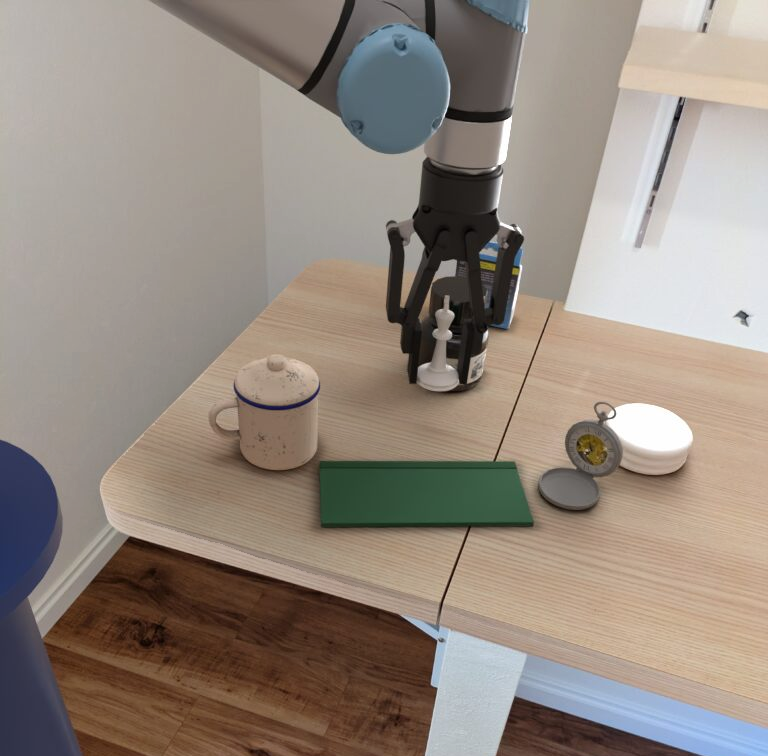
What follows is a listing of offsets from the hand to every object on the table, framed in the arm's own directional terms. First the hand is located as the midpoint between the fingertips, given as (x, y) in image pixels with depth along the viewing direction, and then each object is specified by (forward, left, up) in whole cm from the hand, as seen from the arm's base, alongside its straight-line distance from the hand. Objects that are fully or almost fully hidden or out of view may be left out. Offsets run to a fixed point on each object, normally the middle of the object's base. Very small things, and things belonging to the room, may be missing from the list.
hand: (436, 377), depth 89 cm
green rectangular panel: (-2, -11, -8) cm, 14 cm away
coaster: (+25, -3, -8) cm, 26 cm away
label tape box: (+11, +28, -8) cm, 31 cm away
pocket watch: (+15, -10, -8) cm, 20 cm away
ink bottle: (+4, +13, -8) cm, 16 cm away
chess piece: (0, 0, 0) cm, 0 cm away
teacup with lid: (-19, -3, -8) cm, 21 cm away
